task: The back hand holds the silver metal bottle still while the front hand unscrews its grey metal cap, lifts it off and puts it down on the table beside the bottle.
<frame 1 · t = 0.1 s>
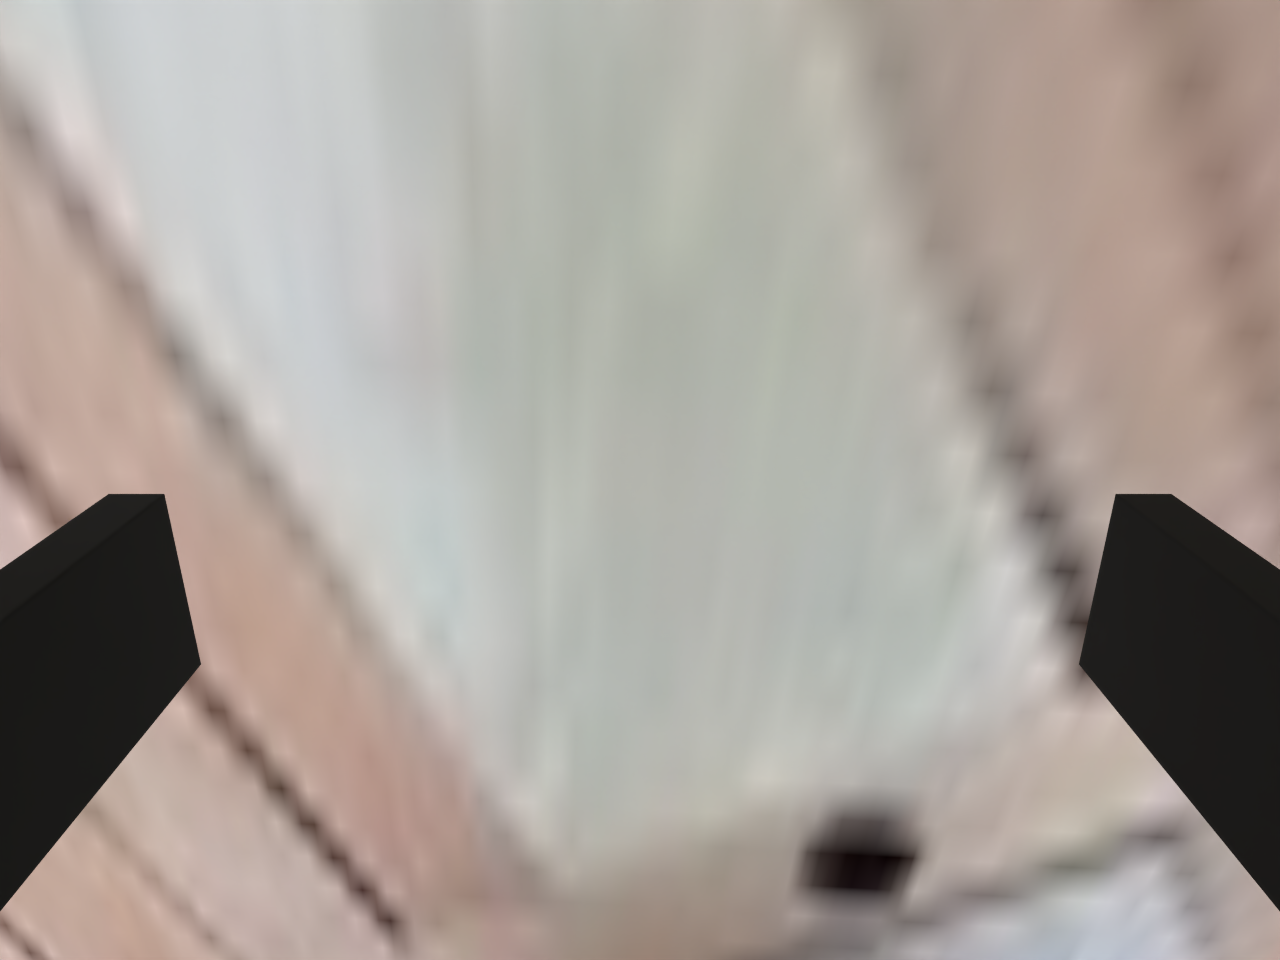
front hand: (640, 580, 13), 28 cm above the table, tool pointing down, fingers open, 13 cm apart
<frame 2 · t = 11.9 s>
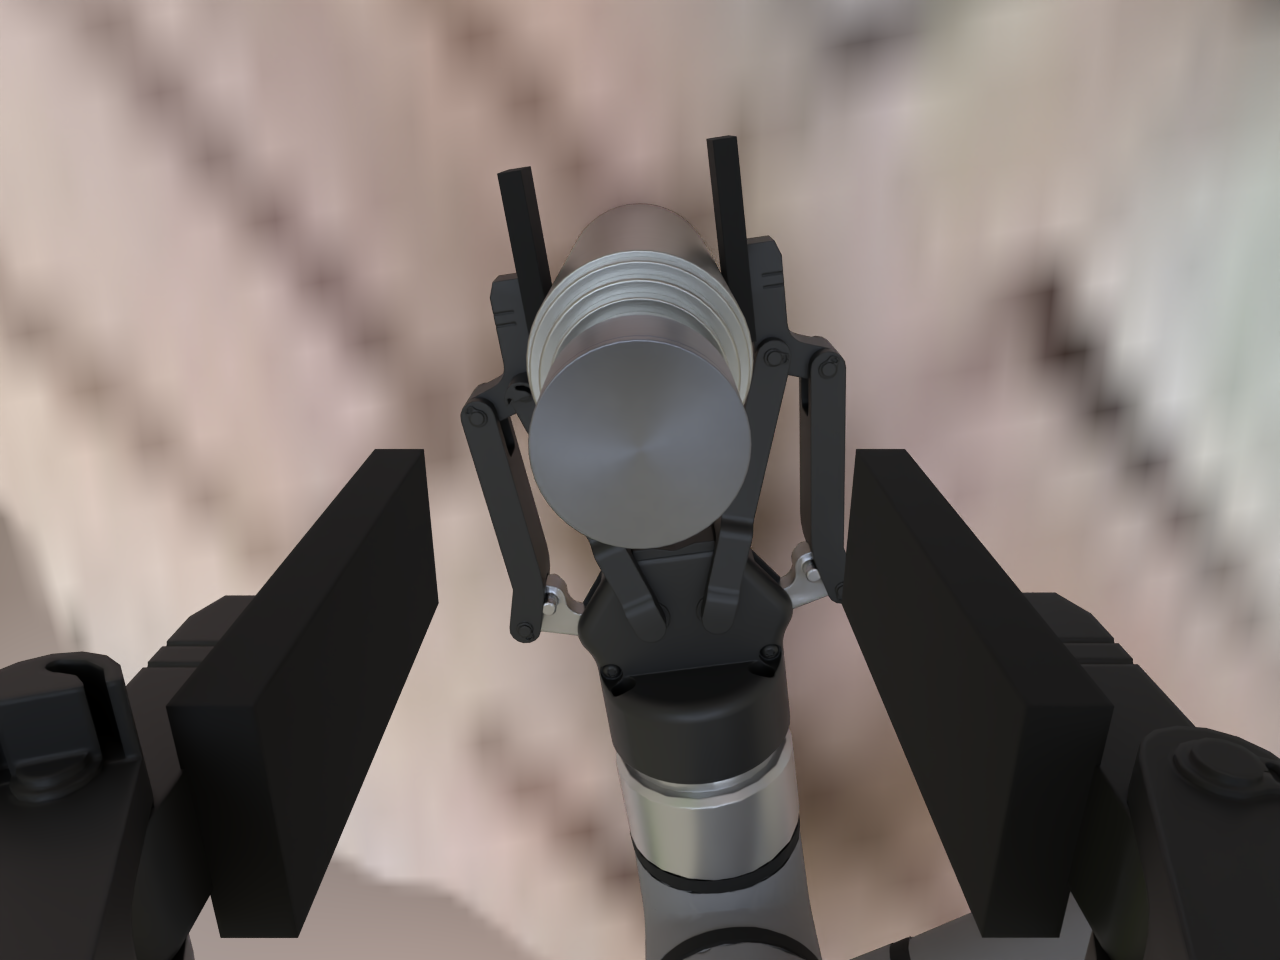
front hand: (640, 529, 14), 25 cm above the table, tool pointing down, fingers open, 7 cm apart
back hand: (617, 155, 29), fingers closed on bottle, 6 cm apart
cap: (639, 444, 18), point 20 cm above the table, screwed on, not yet turned
bottle: (639, 279, 37), on the table, touching back hand
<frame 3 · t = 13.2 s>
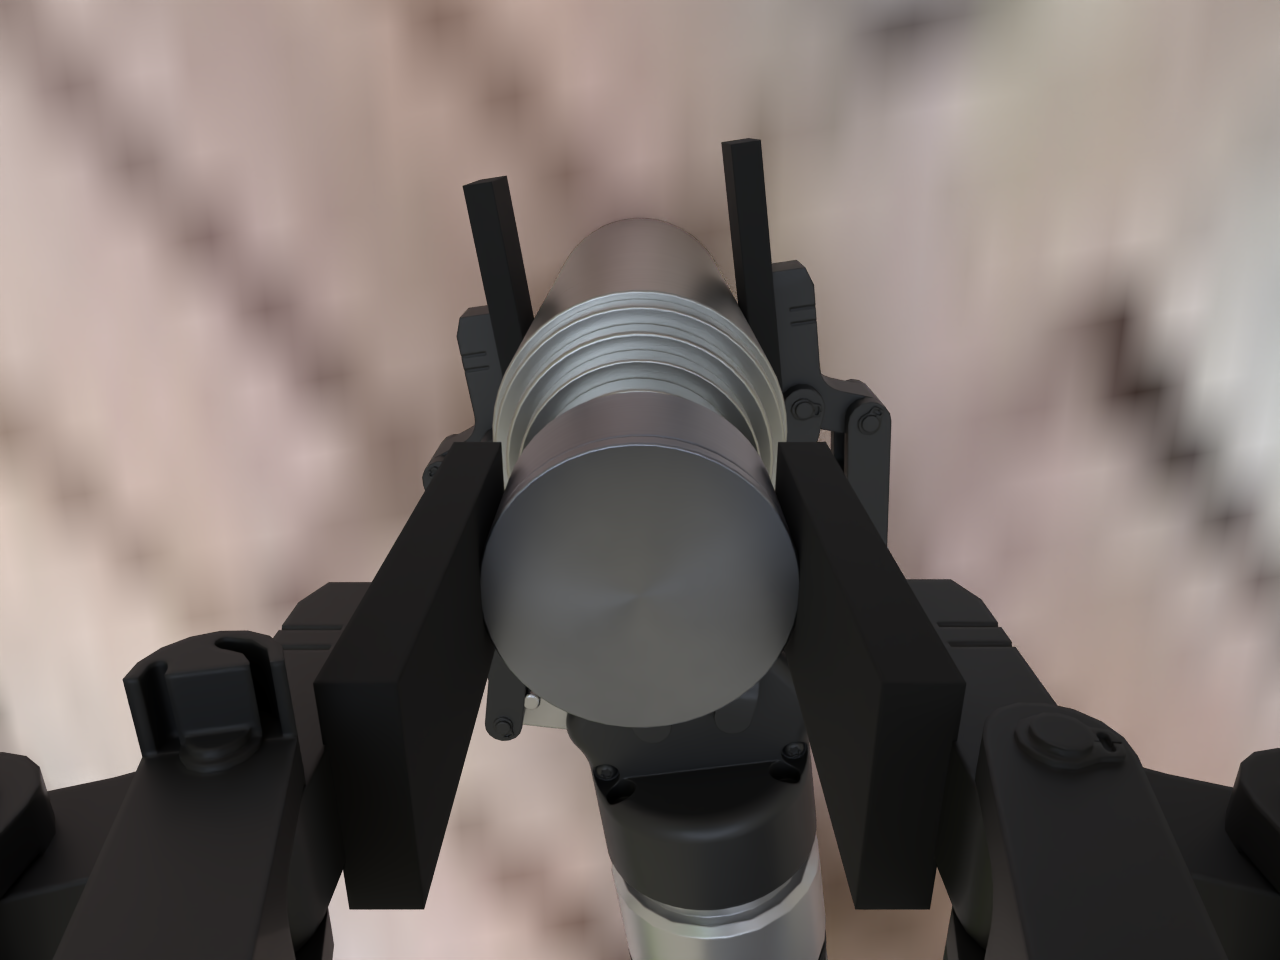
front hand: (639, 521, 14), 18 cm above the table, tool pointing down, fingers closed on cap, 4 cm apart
back hand: (611, 162, 24), fingers closed on bottle, 6 cm apart
cap: (639, 585, 12), point 20 cm above the table, screwed on, not yet turned, touching front hand
bottle: (639, 306, 31), on the table, touching back hand
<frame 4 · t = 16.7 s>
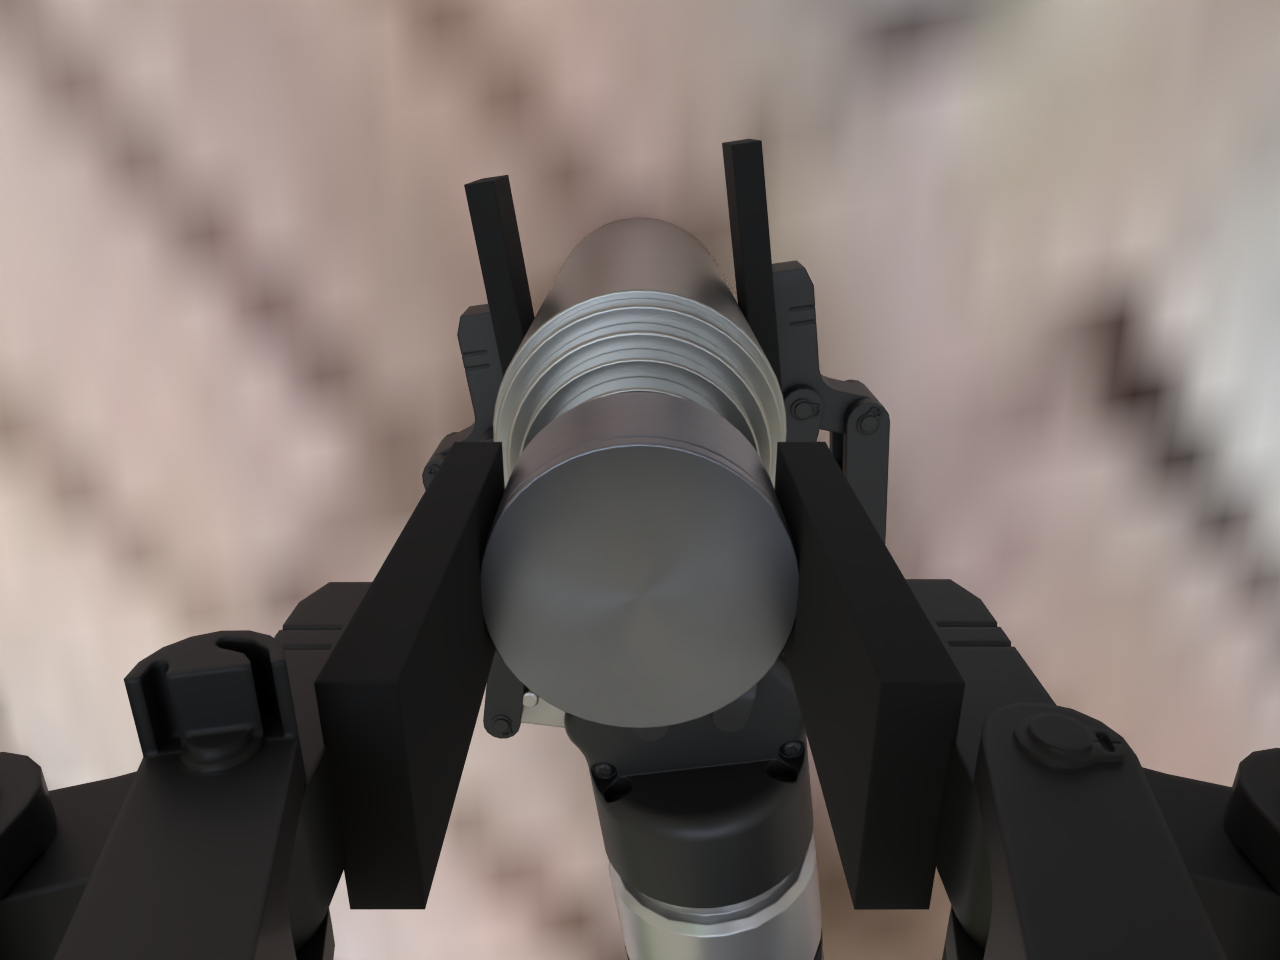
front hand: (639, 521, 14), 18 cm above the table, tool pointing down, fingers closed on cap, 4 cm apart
back hand: (613, 162, 24), fingers closed on bottle, 6 cm apart
cap: (639, 585, 12), point 21 cm above the table, turned 111° so far, risen 0.1 cm, still on its thread, touching front hand
bottle: (639, 306, 32), on the table, touching back hand
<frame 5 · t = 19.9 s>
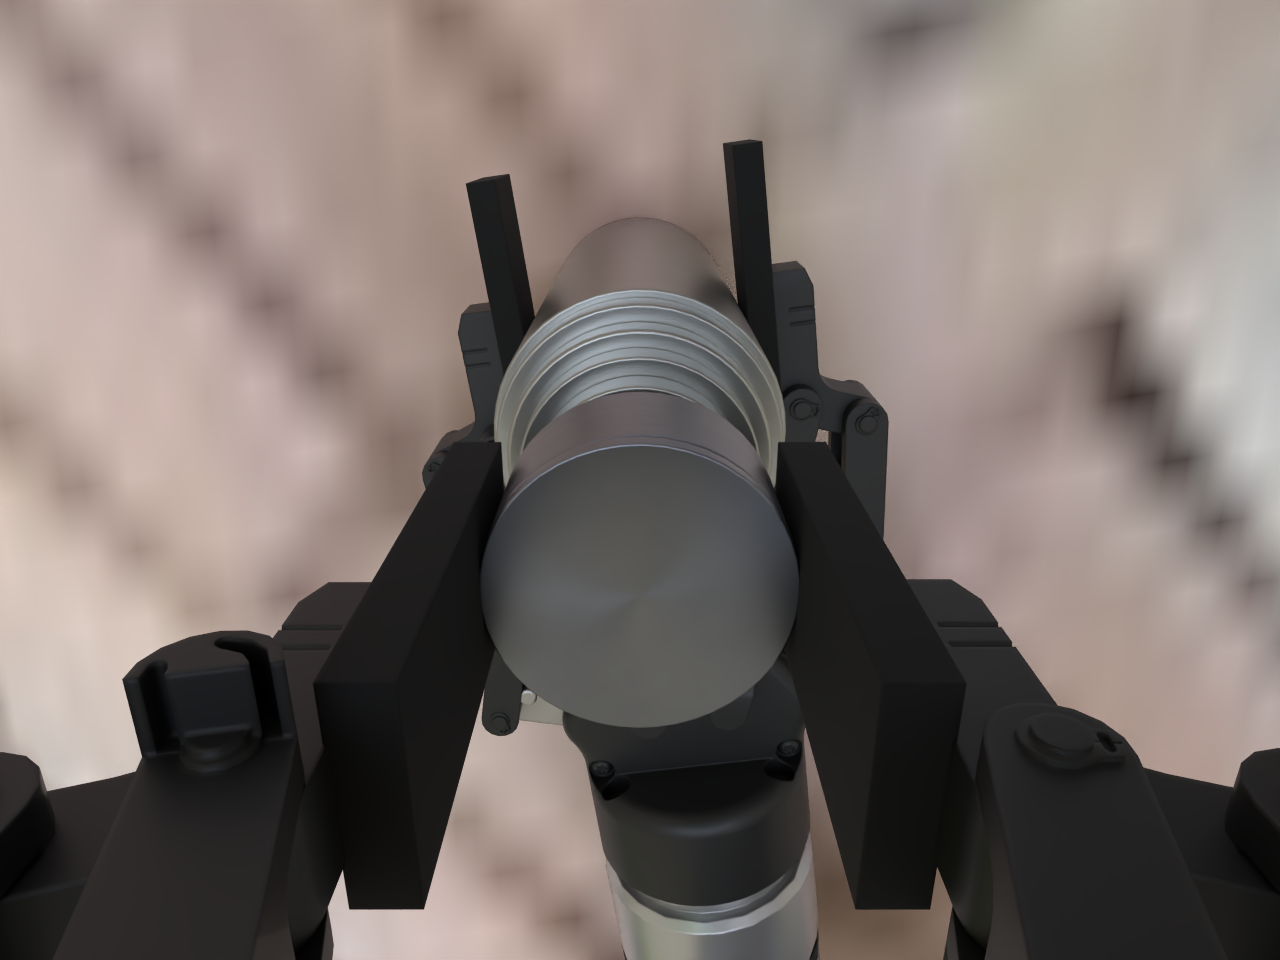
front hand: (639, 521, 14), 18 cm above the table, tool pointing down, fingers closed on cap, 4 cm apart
back hand: (614, 162, 24), fingers closed on bottle, 6 cm apart
cap: (639, 585, 12), point 21 cm above the table, turned 222° so far, risen 0.2 cm, still on its thread, touching front hand
bottle: (639, 306, 32), on the table, touching back hand
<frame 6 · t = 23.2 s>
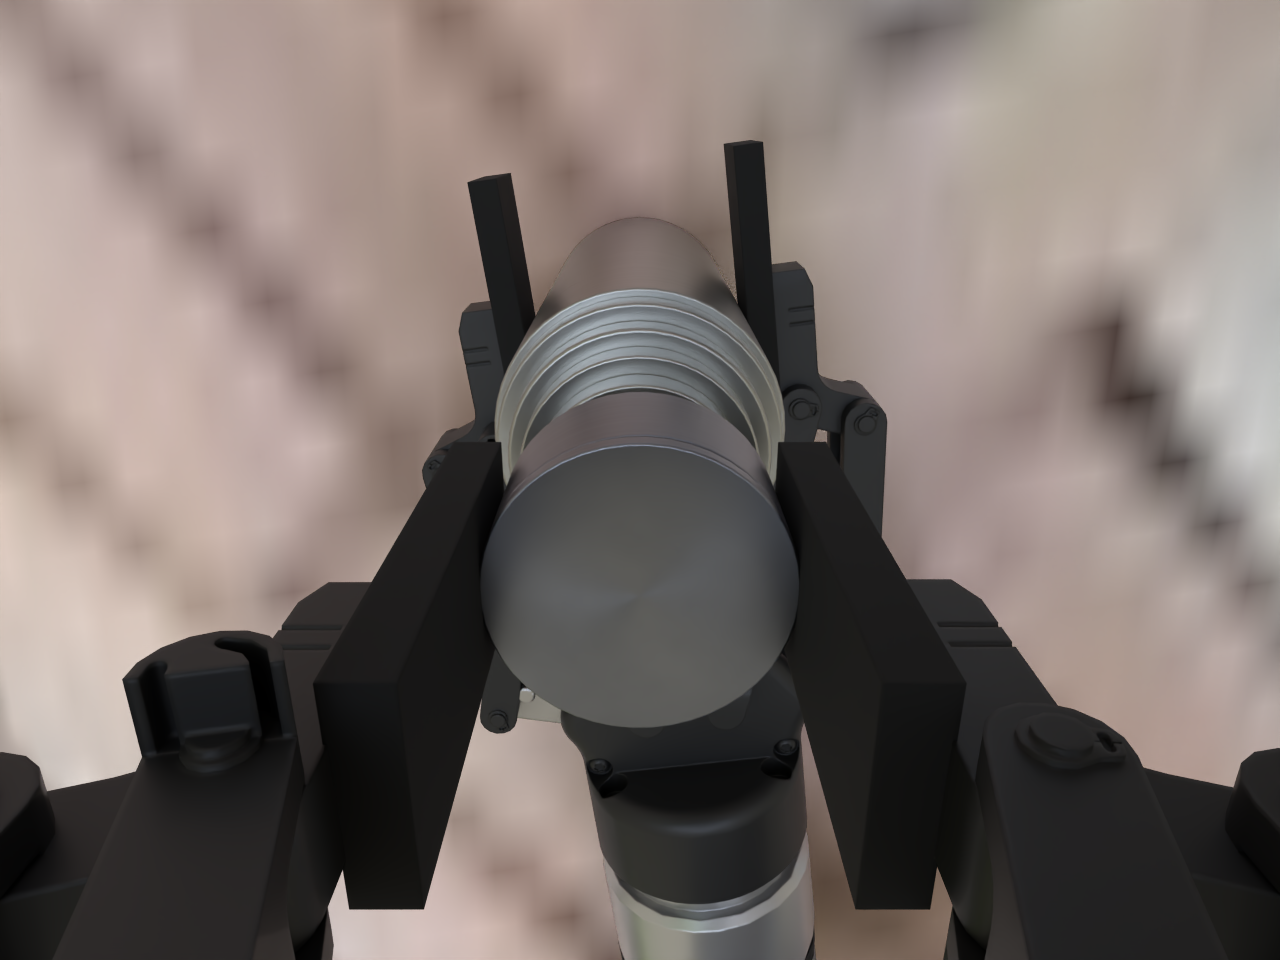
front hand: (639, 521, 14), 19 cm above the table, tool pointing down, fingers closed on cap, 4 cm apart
back hand: (615, 161, 24), fingers closed on bottle, 6 cm apart
cap: (639, 585, 12), point 21 cm above the table, turned 333° so far, risen 0.3 cm, still on its thread, touching front hand
bottle: (639, 305, 32), on the table, touching back hand
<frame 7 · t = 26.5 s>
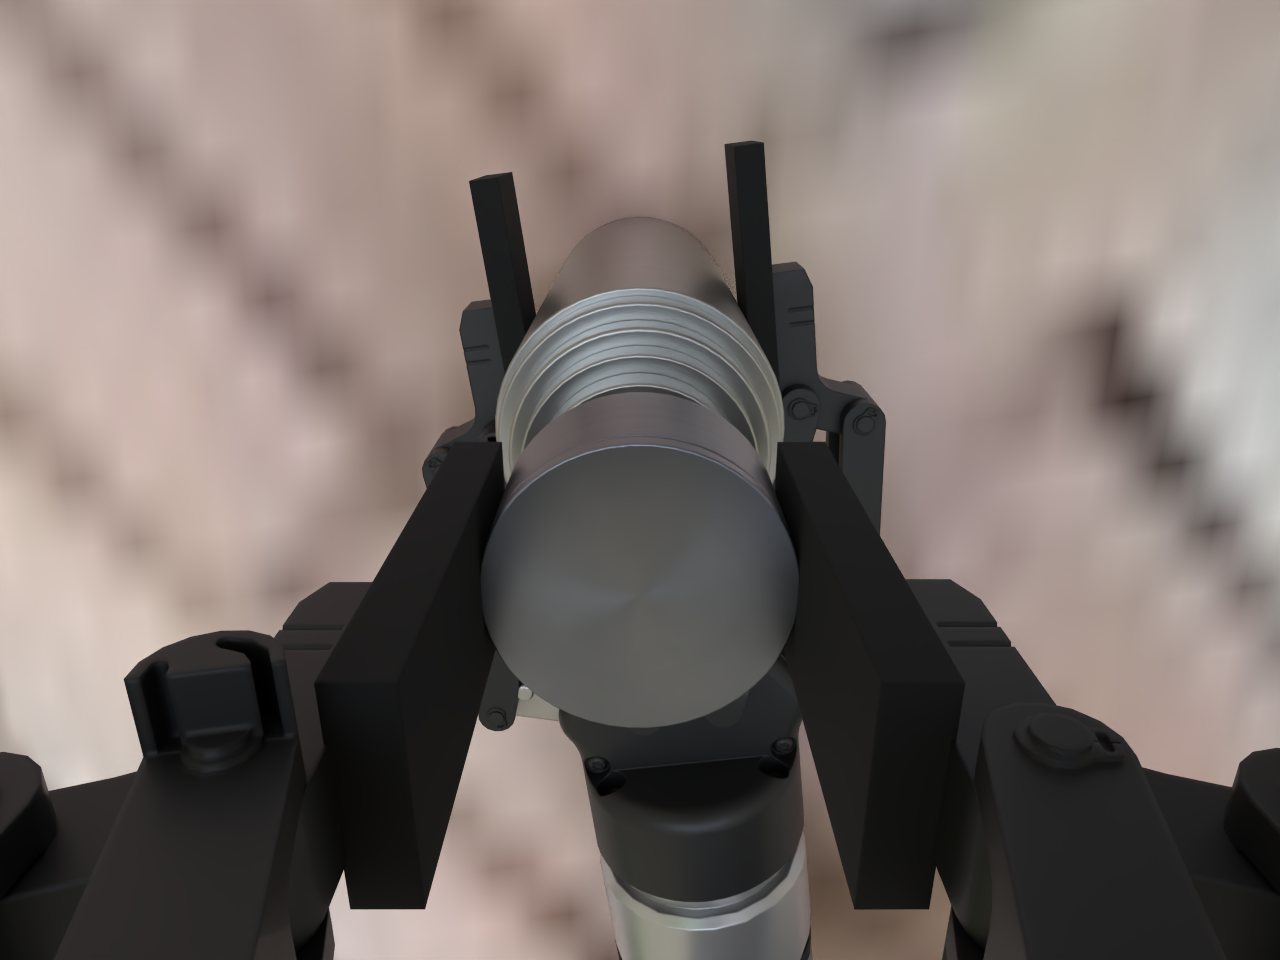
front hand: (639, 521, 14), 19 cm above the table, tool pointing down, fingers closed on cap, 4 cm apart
back hand: (616, 161, 24), fingers closed on bottle, 6 cm apart
cap: (639, 585, 12), point 21 cm above the table, turned 444° so far, risen 0.4 cm, still on its thread, touching front hand
bottle: (640, 305, 32), on the table, touching back hand
when the front hand's fingers open (2 cm above the table, at t = 33.0 s): cap drops 2 cm, point 2 cm above the table.
when the back hand's fingers open (6 cm above the table, at t = 34.2 s): bottle stays where it is, on the table.
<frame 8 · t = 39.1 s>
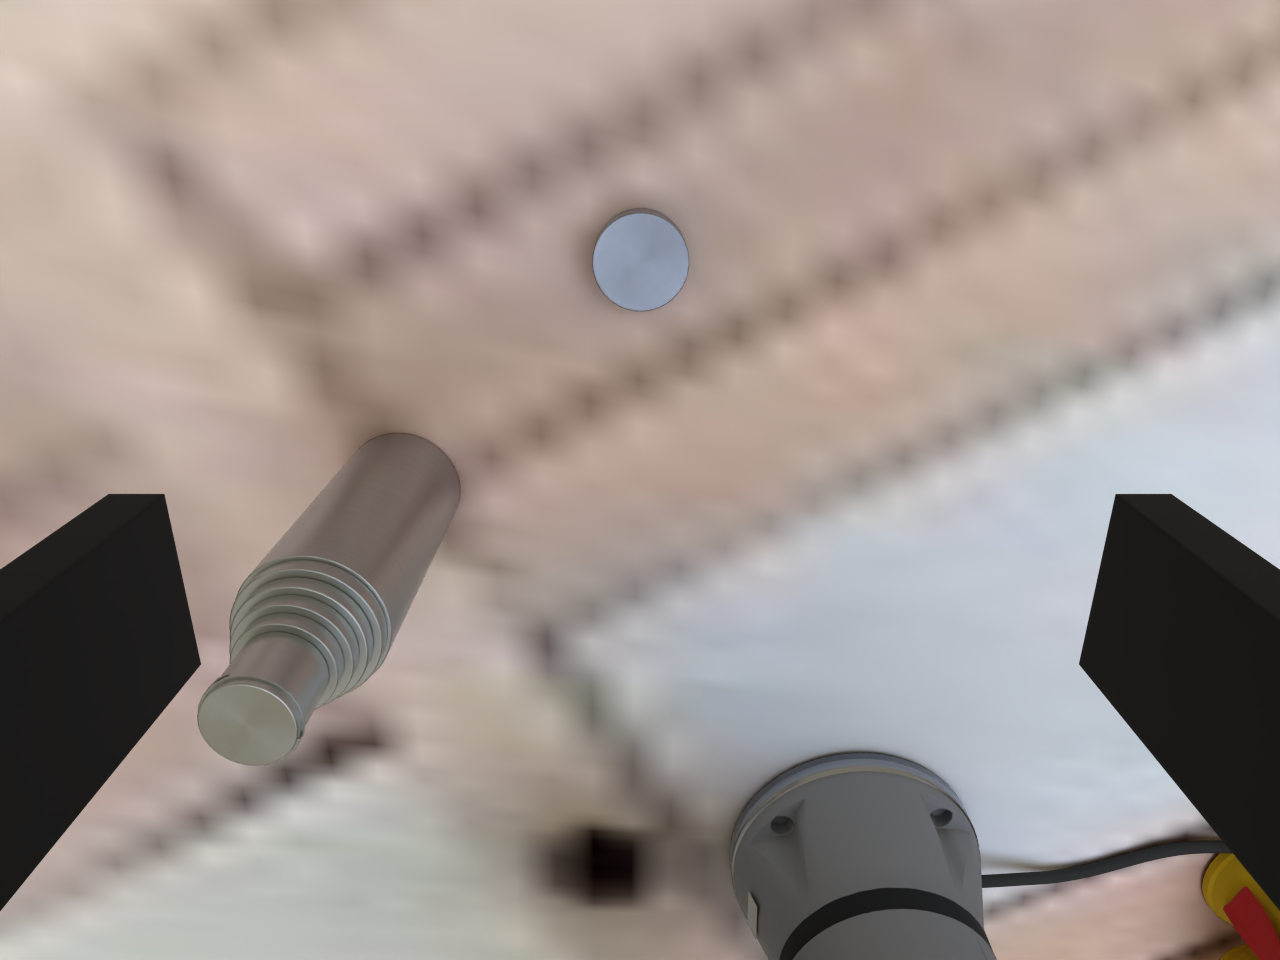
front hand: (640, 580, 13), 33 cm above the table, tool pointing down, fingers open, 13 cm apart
cap: (640, 262, 41), point 2 cm above the table, off its thread
bottle: (403, 486, 47), on the table
ornament: (1256, 872, 57), on the table
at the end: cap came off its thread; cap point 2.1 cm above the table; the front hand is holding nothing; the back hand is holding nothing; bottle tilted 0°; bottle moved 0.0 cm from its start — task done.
